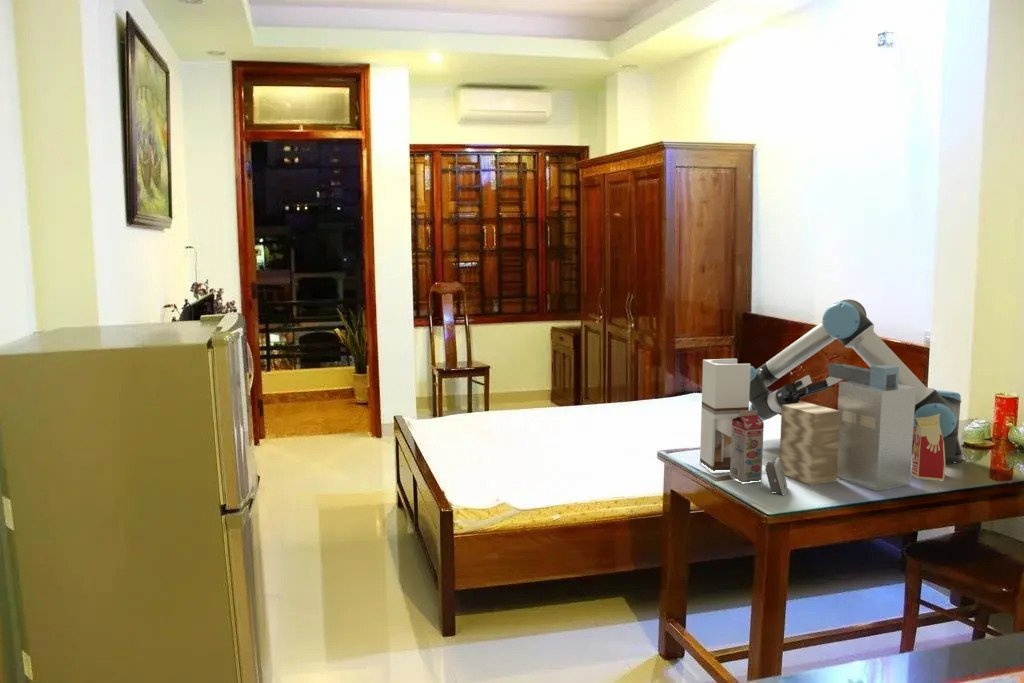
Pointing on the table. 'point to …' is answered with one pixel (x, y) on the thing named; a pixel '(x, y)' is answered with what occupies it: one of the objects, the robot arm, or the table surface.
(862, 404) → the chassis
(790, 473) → the birch block
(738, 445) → the juice carton
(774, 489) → the electrical switch
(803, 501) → the table surface
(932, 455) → the milk carton
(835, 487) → the table surface
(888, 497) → the table surface
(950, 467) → the table surface
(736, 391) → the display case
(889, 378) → the bar
